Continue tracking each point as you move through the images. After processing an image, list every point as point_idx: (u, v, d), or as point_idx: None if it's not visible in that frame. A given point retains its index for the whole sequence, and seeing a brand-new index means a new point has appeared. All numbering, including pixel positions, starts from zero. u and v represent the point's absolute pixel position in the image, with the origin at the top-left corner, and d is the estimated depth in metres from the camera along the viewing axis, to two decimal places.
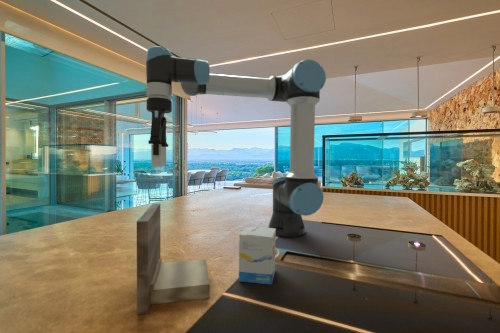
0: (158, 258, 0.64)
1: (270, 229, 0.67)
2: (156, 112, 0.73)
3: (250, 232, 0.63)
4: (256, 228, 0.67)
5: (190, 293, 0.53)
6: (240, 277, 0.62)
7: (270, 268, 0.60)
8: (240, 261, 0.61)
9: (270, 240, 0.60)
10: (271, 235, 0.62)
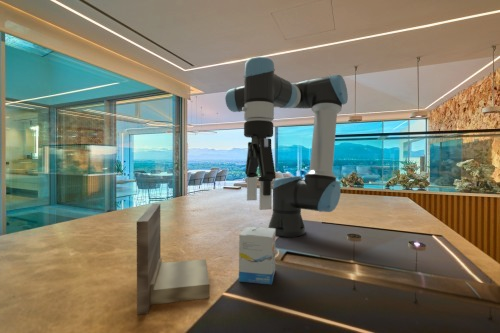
0: (158, 258, 0.64)
1: (270, 229, 0.67)
2: (266, 140, 0.58)
3: (250, 232, 0.63)
4: (256, 228, 0.67)
5: (190, 293, 0.53)
6: (240, 277, 0.62)
7: (270, 268, 0.60)
8: (240, 261, 0.61)
9: (270, 240, 0.60)
10: (271, 235, 0.62)
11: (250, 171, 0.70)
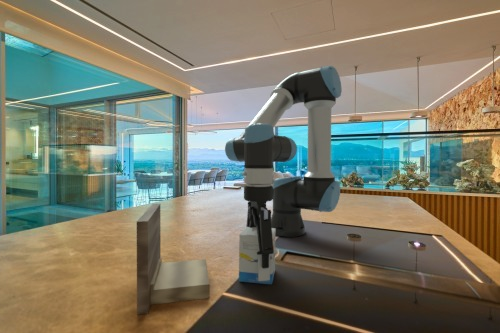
0: (158, 258, 0.64)
1: None
2: (266, 213, 0.58)
3: (250, 232, 0.63)
4: (256, 228, 0.67)
5: (190, 293, 0.53)
6: (240, 277, 0.61)
7: (270, 268, 0.60)
8: (240, 261, 0.61)
9: None
10: None
11: None
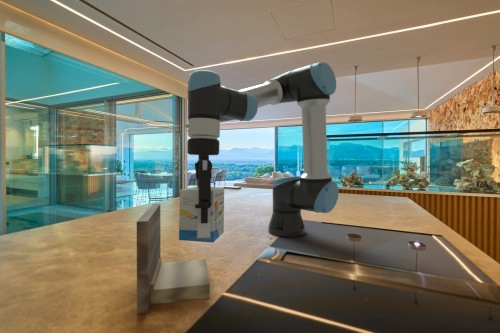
0: (158, 258, 0.64)
1: (217, 187, 0.62)
2: (205, 163, 0.53)
3: (193, 188, 0.59)
4: None
5: (190, 293, 0.53)
6: (180, 235, 0.57)
7: (211, 225, 0.55)
8: (180, 218, 0.57)
9: (211, 194, 0.55)
10: (214, 190, 0.57)
11: None
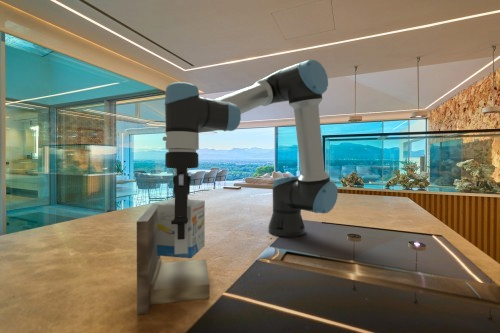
0: (158, 258, 0.64)
1: (197, 200, 0.61)
2: (181, 178, 0.52)
3: (171, 202, 0.58)
4: None
5: (190, 293, 0.53)
6: (158, 251, 0.56)
7: (189, 240, 0.55)
8: (158, 233, 0.56)
9: (189, 209, 0.54)
10: (192, 205, 0.56)
11: None
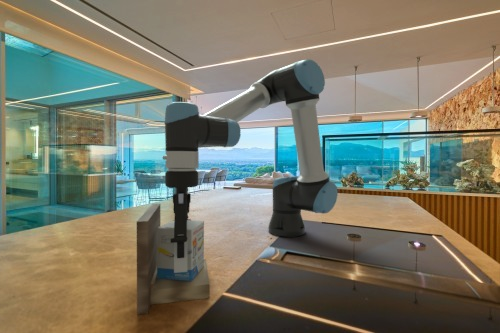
0: None
1: (197, 222, 0.62)
2: (181, 196, 0.53)
3: (171, 225, 0.58)
4: None
5: (190, 293, 0.53)
6: (158, 274, 0.56)
7: (189, 263, 0.55)
8: (158, 256, 0.56)
9: (189, 233, 0.55)
10: (192, 227, 0.57)
11: None
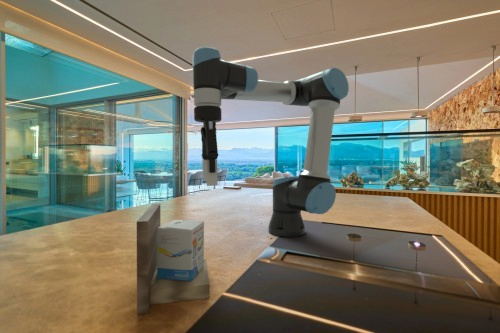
0: None
1: (197, 222, 0.62)
2: (210, 123, 0.63)
3: (171, 225, 0.58)
4: (182, 221, 0.62)
5: (190, 293, 0.53)
6: (158, 274, 0.56)
7: (189, 263, 0.55)
8: (158, 256, 0.56)
9: (189, 233, 0.55)
10: (192, 227, 0.57)
11: (204, 154, 0.76)
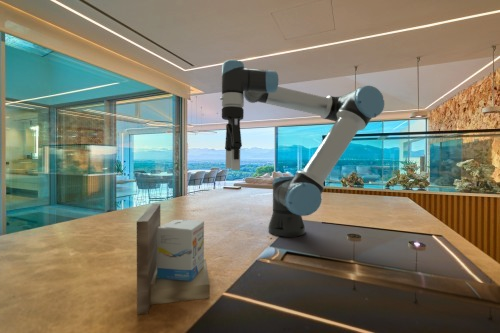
0: None
1: (197, 222, 0.62)
2: (236, 120, 0.80)
3: (171, 225, 0.58)
4: (182, 221, 0.62)
5: (190, 293, 0.53)
6: (158, 274, 0.56)
7: (189, 263, 0.55)
8: (158, 256, 0.56)
9: (189, 233, 0.55)
10: (192, 227, 0.57)
11: (228, 146, 0.93)
